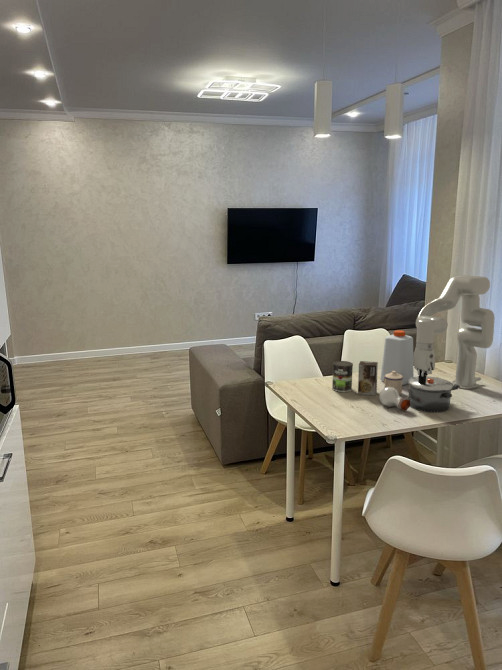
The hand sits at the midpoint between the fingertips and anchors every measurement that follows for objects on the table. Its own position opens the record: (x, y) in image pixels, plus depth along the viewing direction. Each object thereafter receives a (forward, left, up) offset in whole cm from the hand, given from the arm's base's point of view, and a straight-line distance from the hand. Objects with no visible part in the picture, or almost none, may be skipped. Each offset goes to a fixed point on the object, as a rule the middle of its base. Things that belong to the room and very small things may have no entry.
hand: (422, 383), depth 248 cm
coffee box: (+11, -27, -12) cm, 31 cm away
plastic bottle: (-16, -37, -12) cm, 42 cm away
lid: (-5, 0, -1) cm, 5 cm away
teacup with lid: (-1, -23, -12) cm, 26 cm away
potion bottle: (+12, -5, -12) cm, 17 cm away
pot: (-5, 0, -12) cm, 13 cm away
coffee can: (+19, -38, -12) cm, 44 cm away
